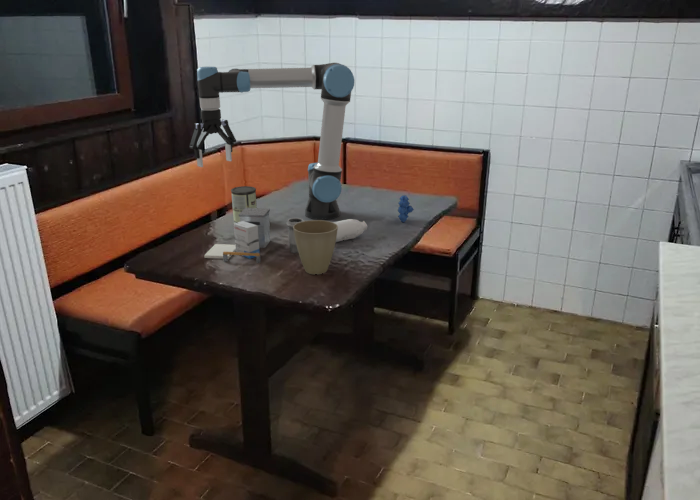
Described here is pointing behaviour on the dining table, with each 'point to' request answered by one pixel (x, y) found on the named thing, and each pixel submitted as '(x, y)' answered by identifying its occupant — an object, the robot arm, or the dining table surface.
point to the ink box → (246, 238)
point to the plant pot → (315, 244)
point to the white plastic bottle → (349, 229)
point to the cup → (291, 235)
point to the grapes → (404, 208)
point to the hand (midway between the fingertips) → (214, 163)
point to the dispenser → (262, 220)
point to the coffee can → (242, 200)
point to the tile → (220, 251)
